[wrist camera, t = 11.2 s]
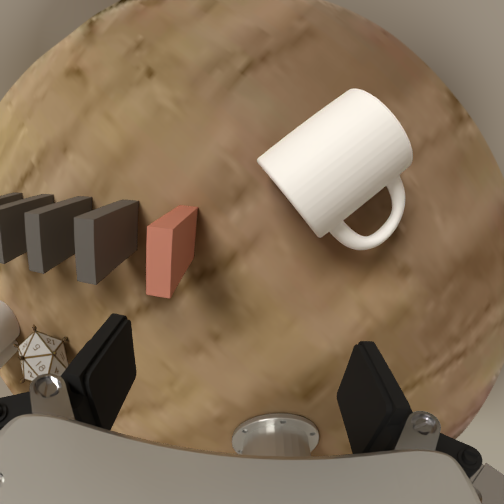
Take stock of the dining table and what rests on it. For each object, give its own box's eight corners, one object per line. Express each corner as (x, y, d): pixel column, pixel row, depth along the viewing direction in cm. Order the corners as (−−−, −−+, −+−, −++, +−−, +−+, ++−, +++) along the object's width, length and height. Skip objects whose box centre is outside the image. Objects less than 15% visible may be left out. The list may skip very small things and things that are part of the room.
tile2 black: (137, 249, 29) (96, 284, 20) (121, 247, 29) (77, 280, 20) (138, 200, 27) (93, 219, 19) (122, 199, 27) (73, 217, 19)
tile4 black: (54, 237, 28) (4, 264, 20) (43, 236, 28) (-7, 261, 20) (53, 194, 27) (-1, 210, 18) (42, 193, 27) (-12, 209, 18)
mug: (255, 160, 26) (255, 159, 19) (337, 97, 24) (367, 77, 17) (332, 257, 29) (357, 291, 21) (406, 197, 27) (451, 211, 19)
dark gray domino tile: (92, 243, 29) (43, 273, 20) (79, 241, 29) (29, 270, 20) (92, 197, 27) (38, 214, 18) (78, 196, 27) (24, 212, 18)
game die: (79, 333, 37) (92, 388, 30) (46, 361, 35) (55, 415, 28) (36, 299, 30) (38, 358, 23) (3, 332, 29) (2, 390, 22)
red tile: (193, 257, 29) (169, 298, 20) (176, 255, 29) (146, 294, 20) (198, 207, 27) (172, 229, 19) (179, 205, 27) (147, 226, 19)
